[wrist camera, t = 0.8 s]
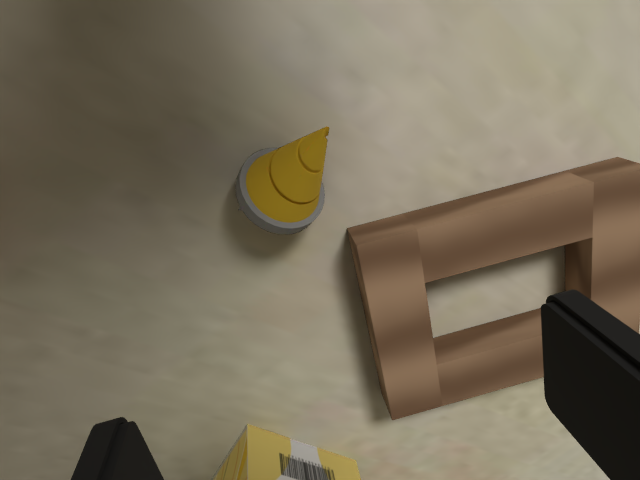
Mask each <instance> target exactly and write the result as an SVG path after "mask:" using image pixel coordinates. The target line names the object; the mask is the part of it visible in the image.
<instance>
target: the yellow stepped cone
mask: <svg viewBox="0 0 640 480" xmlns="http://www.w3.org/2000/svg"><path fill="white" fill-rule="evenodd" d="M328 133H329V127H325V128H322V129H320V130H318V131H316V132H313V133H311V134H309V135H307V136H305V137H302V138H300V139H298V140H296V141H294V142H291V143H289V144H287V145H285V146H283V147H280V148H267V149H263V150H260V151H258V152H256V153H254V154H253V155H251V156H250V157H249V158H248V159H247V160H246V162H245V163H244V165H243V166H242V168H241V170H240V172H239V174H238V177H237V180H236V186H235V187H236V196H237V200H238V203H239V205H240V208H239V209H238V210H242V211H243V212H244V213H245V215H246V216H247V217H248V218H249V219H250V220H251V221H252V222H253V223H254V224H256V225H257V226H259V227H260V228H262V229H264V230H266V231H268V232H271V233H275V234H285V235H287V234H294V233H297V232H300V231H302V230H303V229H305V228H306V227H308V226H309V225H310V224H311V223H312V222H313V221H314V220H315V219H316V217H317V216H318V215H319V214H320V212H321V210H322V208H323V204H324V196H325V194H324V187H323V184H322V174H323V167H324V161H325V154H326V147H327V139H326V138H325V137H326V136H327V135H328Z"/></svg>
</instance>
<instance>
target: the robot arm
mask: <svg viewBox="0 0 640 480" xmlns="http://www.w3.org/2000/svg"><path fill="white" fill-rule="evenodd" d="M541 328H542V349H543V370H544V391H545V399H546V402H547V404H548V406H549V408H550V410H551V411H552V413H553V414H554V415H555V416H556V417H557V418H558V419H559V421H560V422H561V423H562V424H563V425H564V426H565V428H566V429H567V430H568V431H569V432H570V433H571V435H572V436H573V437H574V438H575V439H576V440H577V442H578V443H579V444H580V445H581V446H582V447H583V448H584V450H585V451H586V452H587V453H588V454H589V455H590V457H591V458H592V459H593V460H594V461H595V462H596V464H597V465H598V466H599V467H600V468H601V469H602V470H603V472H604V473H605V474H606V475H607V476H608V477H609V479H610V480H640V334H639V333H637V332H636V331H634V330H633V329H632V328H630V327H629V326H627V325H626V324H624V323H623V322H622V321H620V320H619V319H617V318H616V317H614V316H613V315H612V314H610V313H609V312H607V311H606V310H605V309H603V308H602V307H600V306H599V305H597V304H596V303H595V302H593V301H592V300H590V299H589V298H588V297H586V296H585V295H583V294H582V293H580V292H579V291H577V290H573V289H572V290H568V291H565V292H561V293H558V294H554V295H550V296H549V297H547V300H546V304H543V305H542V306H541ZM71 480H164V479H163V477H162V475H161V473H160V471H159V469H158V467H157V465H156V463H155V461H154V459H153V457H152V455H151V453H150V451H149V449H148V447H147V445H146V443H145V440H144V438H143V436H142V434H141V432H140V430H139V428H138V426H137V425H136V423H135V422H134V421H131V422H127V420H126V419H125V418H124V417H120V418H116V419H113V420H109V421H106V422H102V423H98V424H96V425H94V426H93V428H92V430H91V432H90V434H89V437H88V439H87V442H86V444H85V447H84V449H83V452H82V454H81V456H80V459H79V461H78V464H77V466H76V469H75V471H74V473H73V476H72V478H71Z"/></svg>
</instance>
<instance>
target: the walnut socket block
mask: <svg viewBox="0 0 640 480" xmlns="http://www.w3.org/2000/svg"><path fill="white" fill-rule="evenodd" d="M347 231H348V236H349V241H350V245H351V250H352V255H353V260H354V264H355V269H356V274H357V279H358V283H359V288H360V293H361V298H362V302H363V307H364V312H365V316H366V321H367V326H368V331H369V335H370V340H371V345H372V350H373V354H374V359H375V364H376V369H377V373H378V378H379V383H380V388H381V392H382V395H383V398H384V400H385V403H386V405H387V408H388V410H389V413H390V415H391V418H392V420H395V419H399V418H402V417H406V416H409V415H413V414H416V413H419V412H423V411H426V410H430V409H433V408H437V407H440V406H444V405H447V404H451V403H454V402H458V401H461V400H465V399H468V398H472V397H475V396H479V395H482V394H486V393H489V392H492V391H496V390H499V389H503V388H506V387H510V386H513V385H517V384H520V383H524V382H527V381H531V380H534V379H538V378H541V377H544V370H543V349H542V328H541V308H539V309H536V310H532V311H529V312H525V313H522V314H518V315H514V316H511V317H507V318H504V319H500V320H496V321H493V322H489V323H486V324H482V325H479V326H475V327H471V328H468V329H464V330H461V331H457V332H453V333H450V334H446V335H443V336H439V337H436V338H433V336H432V329H431V322H430V315H429V308H428V301H427V294H426V287H425V283H427V282H431V281H434V280H438V279H442V278H445V277H449V276H453V275H456V274H460V273H464V272H467V271H471V270H475V269H478V268H482V267H486V266H489V265H493V264H497V263H500V262H504V261H508V260H511V259H515V258H519V257H522V256H526V255H530V254H533V253H537V252H541V251H544V250H548V249H552V248H555V247H559V246H563V245H565V291H568V290H572V289H573V290H577V291H579V292H580V293H582V294H583V295H585V296H586V297H588V298H589V299H590V300H592V301H593V302H595V303H596V304H597V305H599V306H600V307H602V308H603V309H605V310H606V311H607V312H609V313H610V314H612V315H613V316H614V317H616V318H617V319H619V320H620V321H622V322H623V323H624V324H626V325H627V326H629V327H630V328H632V329H633V330H634V331H636V332H637V333H639V323H640V164H639V163H636V162H633V161H629V160H626V159H623V158H619V157H616V158H612V159H608V160H604V161H601V162H597V163H593V164H589V165H586V166H582V167H578V168H574V169H570V170H567V171H563V172H559V173H555V174H551V175H548V176H544V177H540V178H536V179H532V180H529V181H525V182H521V183H517V184H513V185H510V186H506V187H502V188H498V189H495V190H491V191H487V192H483V193H479V194H476V195H472V196H468V197H464V198H460V199H457V200H453V201H449V202H445V203H441V204H438V205H434V206H430V207H426V208H423V209H419V210H415V211H411V212H407V213H404V214H400V215H396V216H392V217H388V218H385V219H381V220H377V221H373V222H369V223H366V224H362V225H358V226H354V227H350V228H347Z"/></svg>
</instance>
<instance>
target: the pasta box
mask: <svg viewBox="0 0 640 480" xmlns="http://www.w3.org/2000/svg"><path fill="white" fill-rule="evenodd" d="M211 480H361V478H360V475H359V471H358V467H357V464H356V460H353V459H350V458H347V457H344V456H341V455H338V454H335V453H332V452H329V451H326V450H323V449H320V448H317V447H314V446H311V445H308V444H305V443H302V442H299V441H296V440H293V439H290V438H287V437H284V436H281V435H278V434H275V433H273V432H270V431H267V430H264V429H261V428H258V427H255V426H252V425H249V424H247V425H246V427H245V428H244V430H243V431H242V433H241V435H240V436H239V438H238V439H237V441H236V442H235V444H234V445H233V447H232V448H231V450H230V452H229V453H228V455H227V456H226V458H225V459H224V461H223V462H222V464H221V465H220V467H219V469H218V470H217V472H216V473H215V475H214V476H213V478H212V479H211Z"/></svg>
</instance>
